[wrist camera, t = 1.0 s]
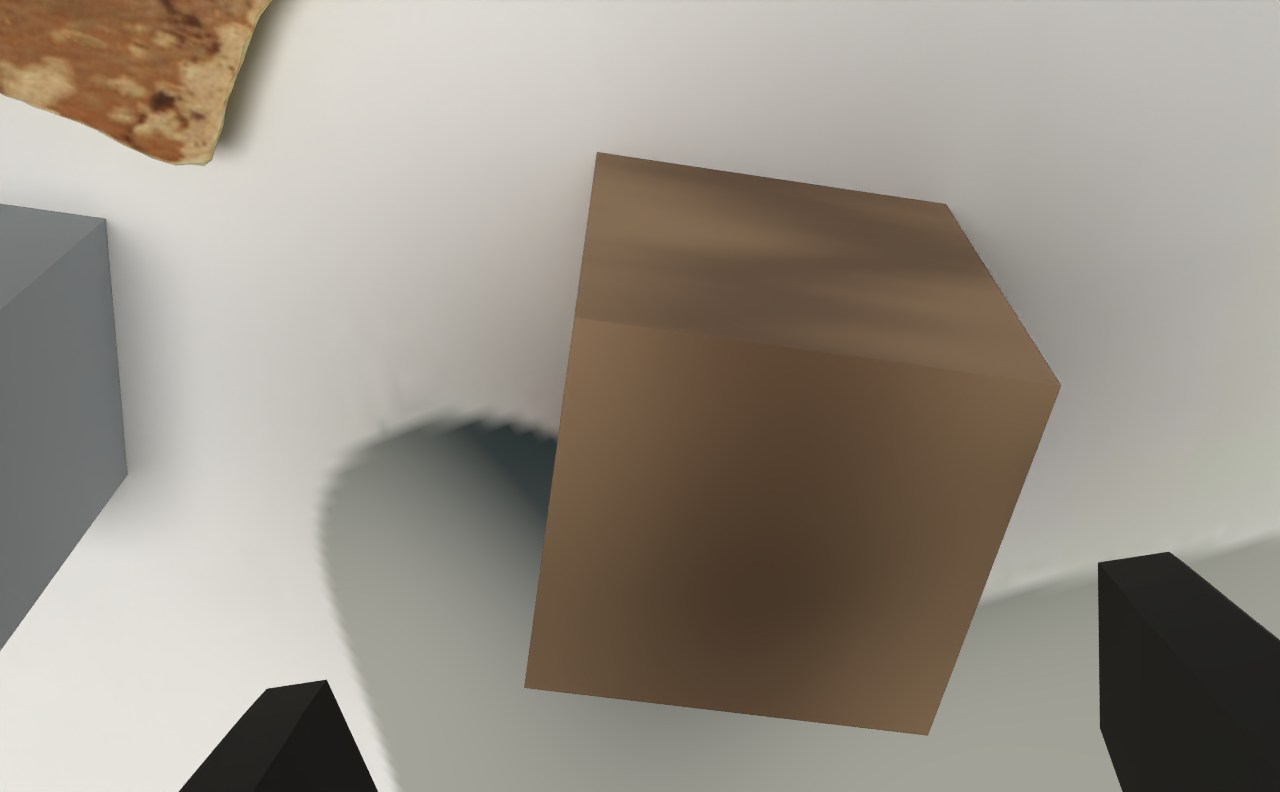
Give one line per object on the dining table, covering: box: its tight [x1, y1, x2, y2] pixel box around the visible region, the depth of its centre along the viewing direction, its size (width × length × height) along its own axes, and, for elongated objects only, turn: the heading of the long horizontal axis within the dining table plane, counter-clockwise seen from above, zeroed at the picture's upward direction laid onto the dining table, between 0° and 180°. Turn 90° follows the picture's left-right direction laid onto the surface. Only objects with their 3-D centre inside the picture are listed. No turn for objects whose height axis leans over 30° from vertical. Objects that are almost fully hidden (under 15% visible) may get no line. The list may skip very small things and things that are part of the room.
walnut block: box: [524, 152, 1061, 735], centre depth 17 cm, size 6×6×6 cm
